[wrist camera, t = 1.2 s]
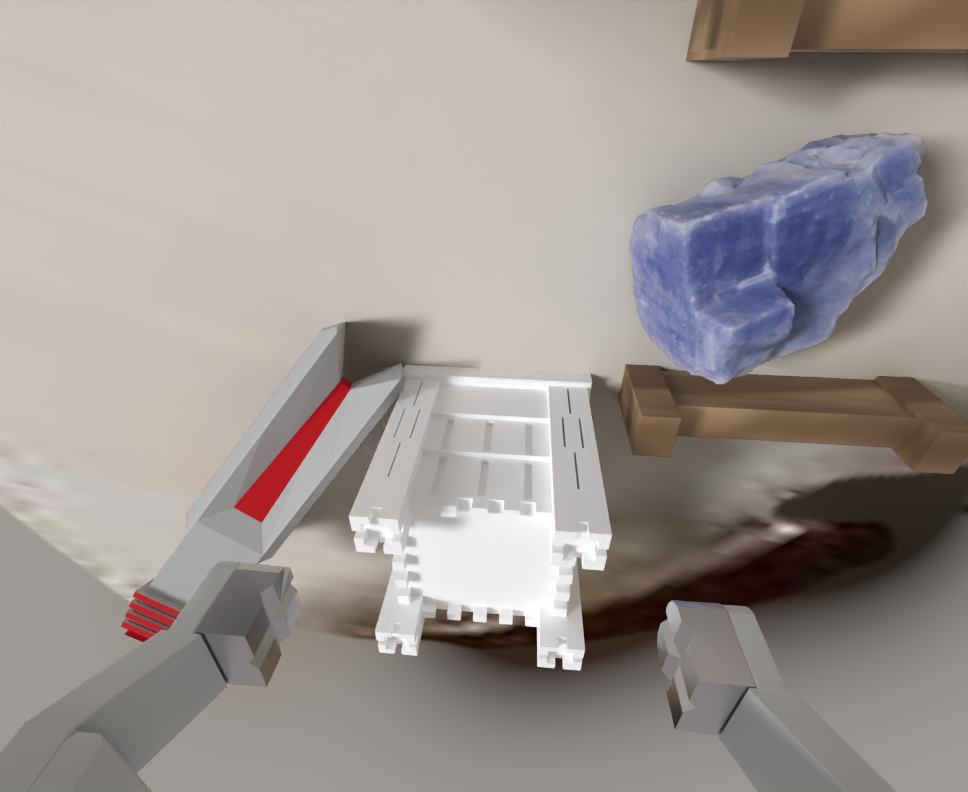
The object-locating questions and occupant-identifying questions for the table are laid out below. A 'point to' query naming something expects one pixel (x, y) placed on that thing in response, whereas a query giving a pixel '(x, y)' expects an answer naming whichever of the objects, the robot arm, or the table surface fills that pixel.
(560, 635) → the castle model
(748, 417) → the wooden brackets
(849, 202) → the mineral
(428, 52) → the table surface
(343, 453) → the toy gun
